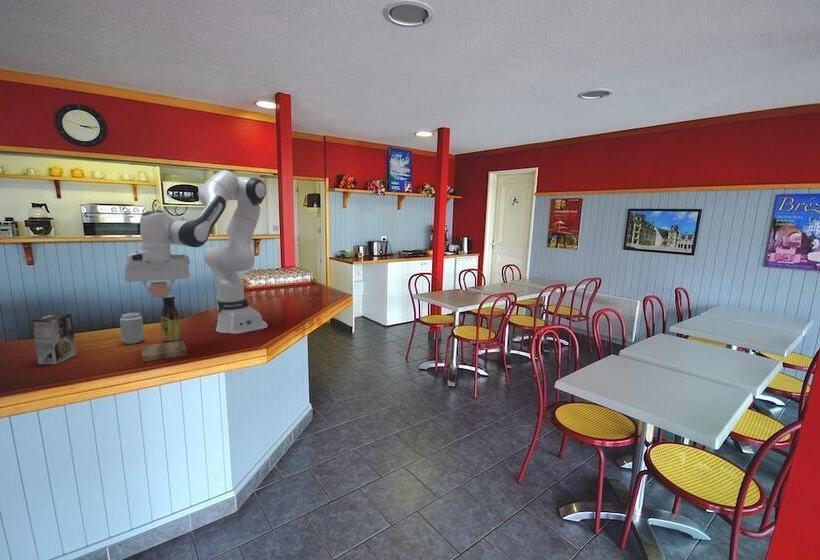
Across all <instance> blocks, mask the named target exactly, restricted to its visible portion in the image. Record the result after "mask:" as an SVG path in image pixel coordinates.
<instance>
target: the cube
mask: <svg viewBox="0 0 820 560" xmlns="http://www.w3.org/2000/svg"><path fill="white" fill-rule="evenodd" d="M168 286H169V285H168V282H167V280H164V281H150V287H151V291H152V293H151V298H152V299H154V298H163V297H168V295H169V291H168Z"/></svg>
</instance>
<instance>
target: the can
mask: <svg viewBox="0 0 820 560" xmlns="http://www.w3.org/2000/svg"><path fill="white" fill-rule="evenodd" d="M119 324H120V335H121V336H120V337H121V343H123V344H125V345H135V344H136V343H137V344H140V343H142V342H143V341H144V340H145V333H144V323H143V316H142V315H141V313H140V312H129V313H123V314H122V315H121V317H120V318H119ZM141 341H142V342H141ZM139 342H140V343H139ZM137 344H136V345H137Z"/></svg>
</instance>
